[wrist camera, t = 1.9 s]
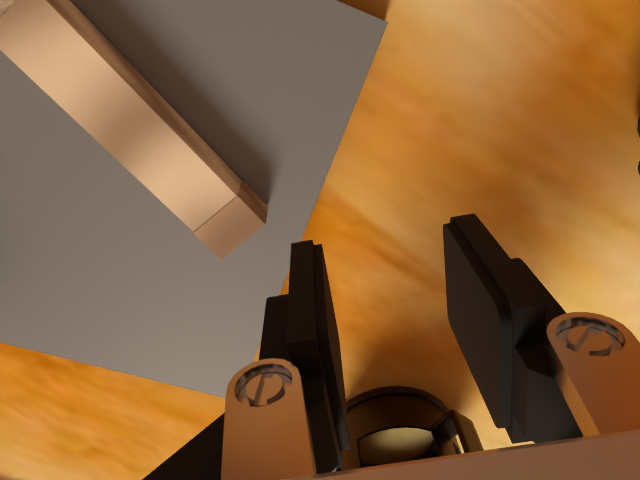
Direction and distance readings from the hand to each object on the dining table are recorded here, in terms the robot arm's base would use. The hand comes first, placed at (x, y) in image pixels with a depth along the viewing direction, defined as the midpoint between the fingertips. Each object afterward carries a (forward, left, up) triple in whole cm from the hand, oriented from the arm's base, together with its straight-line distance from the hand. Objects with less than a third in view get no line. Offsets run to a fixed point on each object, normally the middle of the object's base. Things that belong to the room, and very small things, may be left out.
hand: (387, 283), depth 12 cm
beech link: (+2, -11, -14) cm, 18 cm away
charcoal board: (+7, -11, -15) cm, 20 cm away
